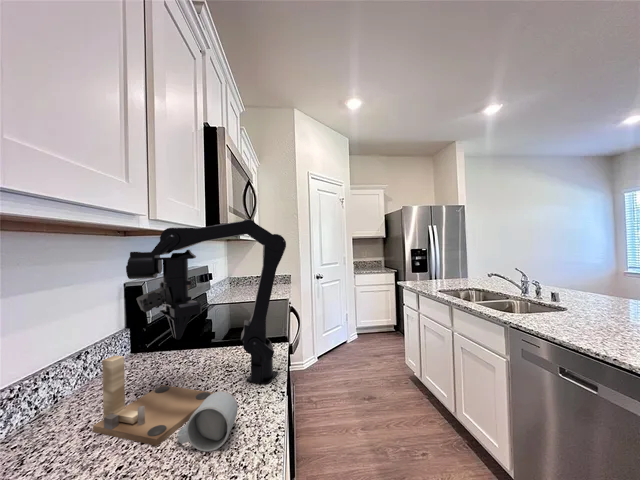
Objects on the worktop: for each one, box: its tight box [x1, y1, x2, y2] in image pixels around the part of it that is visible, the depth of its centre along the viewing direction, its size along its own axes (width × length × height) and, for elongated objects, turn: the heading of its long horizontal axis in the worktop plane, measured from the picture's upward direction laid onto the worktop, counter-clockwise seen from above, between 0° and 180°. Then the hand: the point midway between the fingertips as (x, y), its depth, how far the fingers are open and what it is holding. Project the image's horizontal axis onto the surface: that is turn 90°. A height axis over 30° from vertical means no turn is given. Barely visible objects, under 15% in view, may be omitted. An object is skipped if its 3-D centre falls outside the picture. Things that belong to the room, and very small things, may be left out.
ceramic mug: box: [176, 390, 239, 453], centre depth 55 cm, size 11×8×8 cm
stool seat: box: [92, 384, 214, 447], centre depth 64 cm, size 17×16×4 cm
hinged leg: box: [101, 355, 138, 424], centre depth 59 cm, size 7×3×12 cm, turn 74°
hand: (177, 338), depth 74 cm, fingers closed
